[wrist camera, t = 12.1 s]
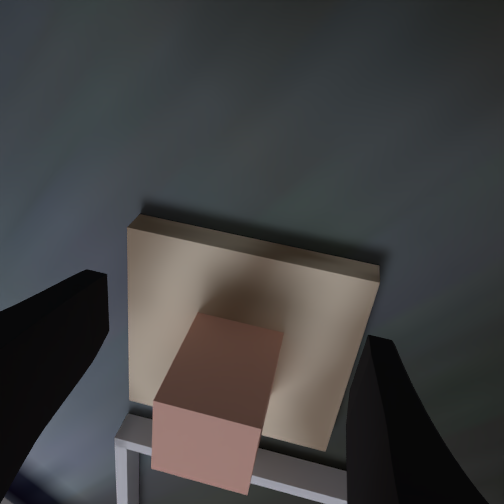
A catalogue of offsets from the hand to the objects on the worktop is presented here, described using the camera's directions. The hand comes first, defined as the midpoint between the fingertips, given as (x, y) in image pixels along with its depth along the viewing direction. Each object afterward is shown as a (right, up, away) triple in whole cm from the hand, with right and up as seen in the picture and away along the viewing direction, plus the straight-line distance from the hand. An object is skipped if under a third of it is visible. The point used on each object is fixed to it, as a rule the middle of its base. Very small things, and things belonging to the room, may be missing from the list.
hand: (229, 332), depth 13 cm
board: (0, -2, +14) cm, 14 cm away
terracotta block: (0, -3, +13) cm, 13 cm away
